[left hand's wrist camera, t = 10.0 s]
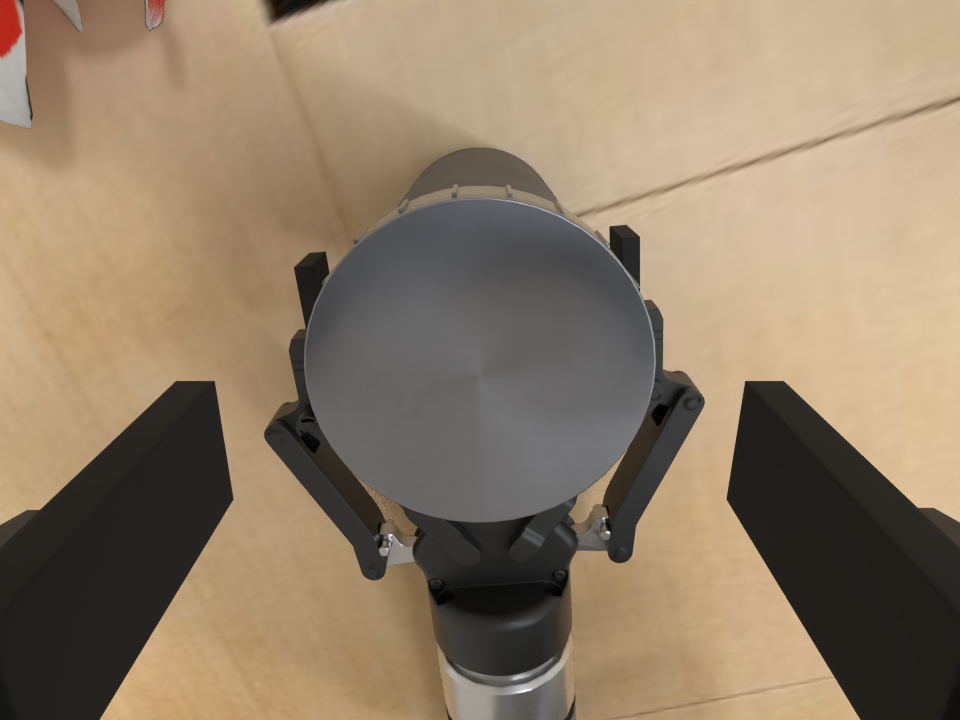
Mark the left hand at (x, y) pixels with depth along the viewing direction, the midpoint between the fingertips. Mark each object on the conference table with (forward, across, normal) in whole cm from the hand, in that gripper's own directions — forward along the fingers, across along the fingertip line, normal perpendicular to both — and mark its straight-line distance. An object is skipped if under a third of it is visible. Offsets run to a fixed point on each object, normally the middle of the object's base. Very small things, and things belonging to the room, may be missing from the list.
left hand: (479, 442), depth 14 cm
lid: (+4, 0, 0) cm, 4 cm away
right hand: (+17, +1, 0) cm, 17 cm away
